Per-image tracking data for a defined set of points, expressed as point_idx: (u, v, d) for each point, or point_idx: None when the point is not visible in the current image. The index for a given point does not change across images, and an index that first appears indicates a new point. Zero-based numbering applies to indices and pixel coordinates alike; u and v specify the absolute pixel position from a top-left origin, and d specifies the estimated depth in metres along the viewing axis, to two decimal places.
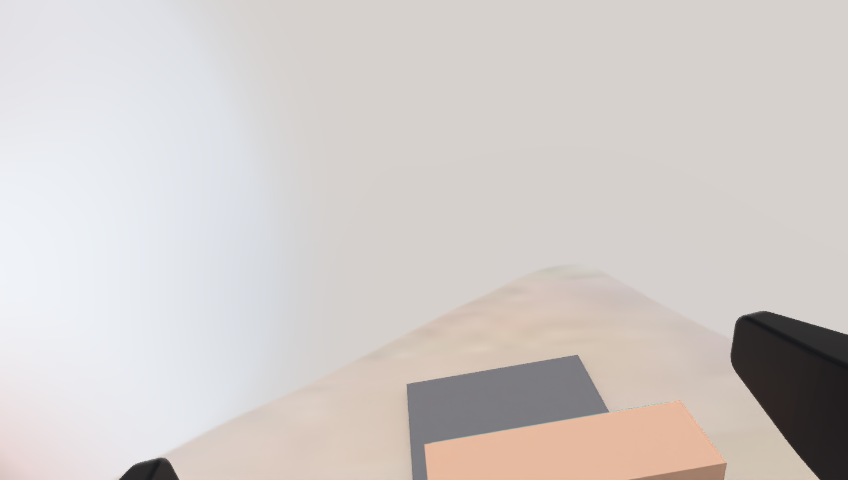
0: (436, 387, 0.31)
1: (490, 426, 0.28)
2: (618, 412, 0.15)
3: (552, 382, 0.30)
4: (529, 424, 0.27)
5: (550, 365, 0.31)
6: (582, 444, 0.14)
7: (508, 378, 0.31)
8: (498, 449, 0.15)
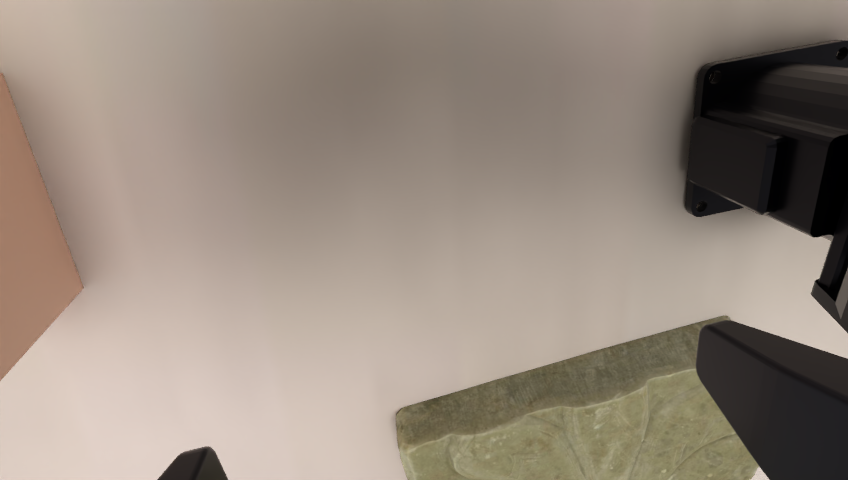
0: None
1: None
2: None
3: None
4: None
5: None
6: None
7: None
8: None
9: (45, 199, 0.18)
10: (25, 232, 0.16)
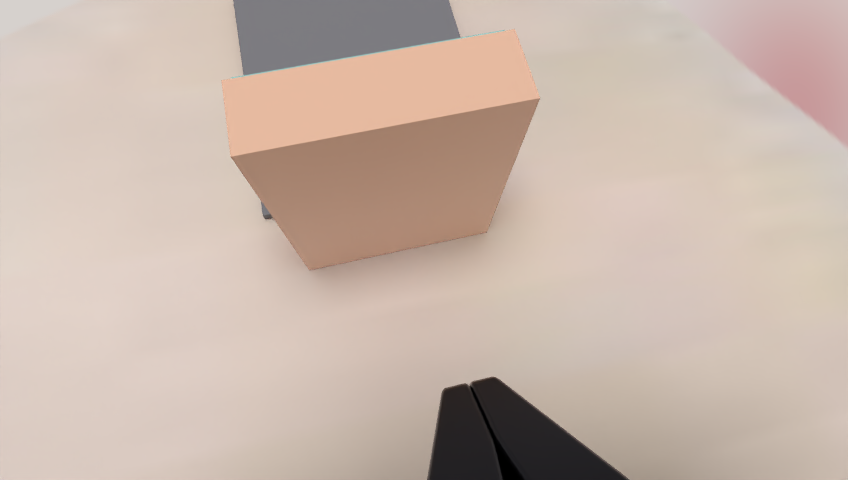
0: None
1: (331, 45, 0.25)
2: (446, 42, 0.14)
3: None
4: (373, 43, 0.25)
5: None
6: (401, 79, 0.13)
7: None
8: (308, 85, 0.13)
9: (394, 250, 0.22)
10: (379, 240, 0.20)
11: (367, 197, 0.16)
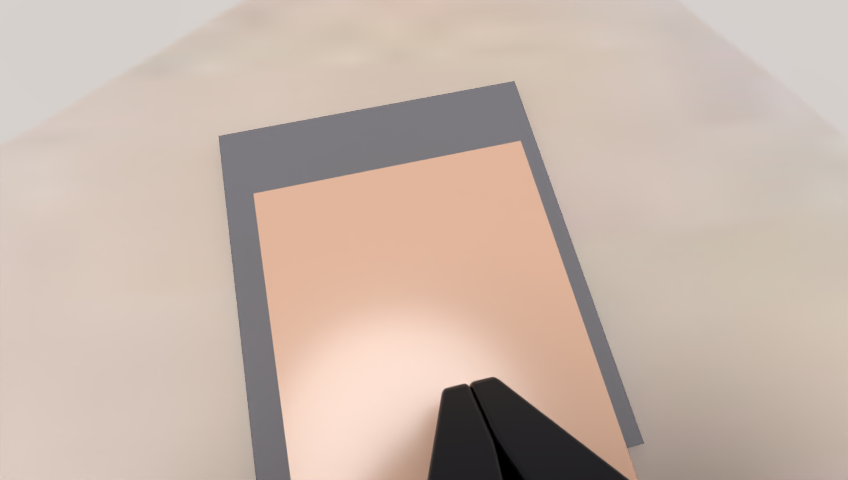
0: (273, 144, 0.18)
1: None
2: None
3: (470, 137, 0.18)
4: None
5: (469, 102, 0.18)
6: None
7: (398, 127, 0.18)
8: None
9: None
10: (427, 466, 0.12)
11: (386, 299, 0.13)
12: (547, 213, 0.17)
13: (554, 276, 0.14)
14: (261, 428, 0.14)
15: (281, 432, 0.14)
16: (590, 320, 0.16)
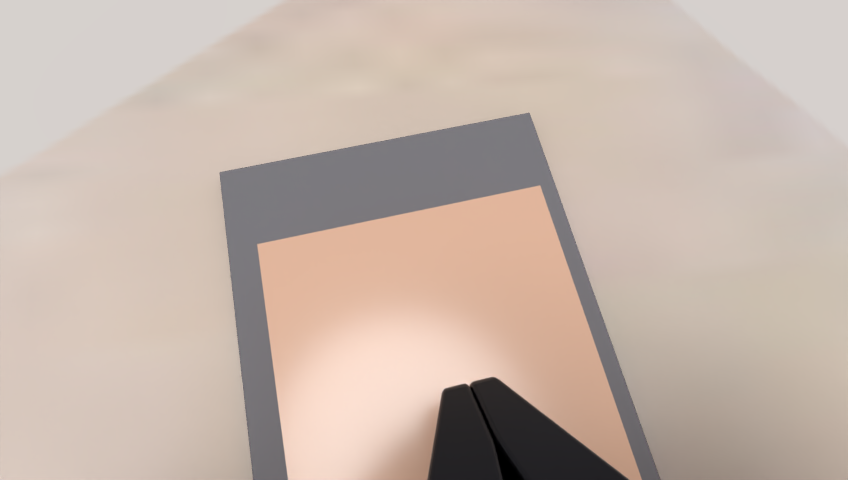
0: (276, 181, 0.17)
1: None
2: None
3: (484, 173, 0.17)
4: None
5: (482, 135, 0.18)
6: None
7: (408, 162, 0.17)
8: None
9: None
10: None
11: (399, 361, 0.12)
12: (565, 256, 0.16)
13: (578, 335, 0.13)
14: None
15: None
16: (612, 372, 0.15)
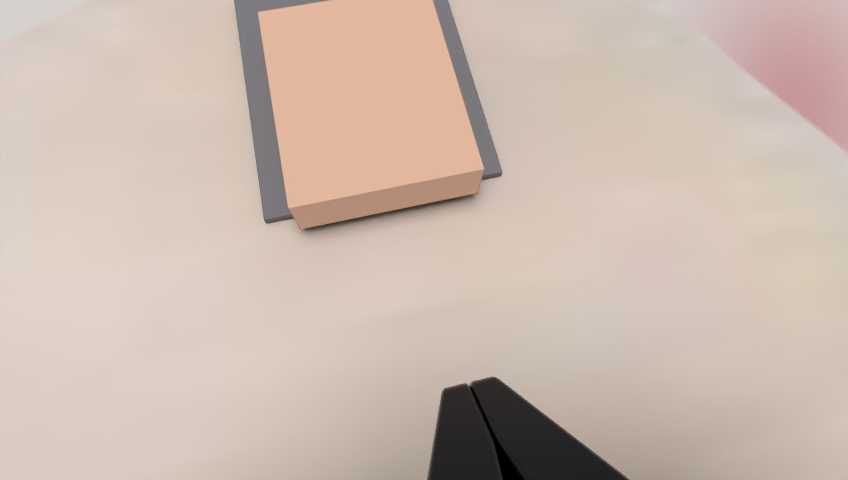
0: (270, 1, 0.26)
1: None
2: None
3: None
4: None
5: None
6: None
7: None
8: None
9: (381, 183, 0.20)
10: (359, 150, 0.21)
11: (338, 68, 0.22)
12: (452, 44, 0.26)
13: (442, 58, 0.22)
14: (262, 161, 0.23)
15: (275, 163, 0.23)
16: (475, 105, 0.24)
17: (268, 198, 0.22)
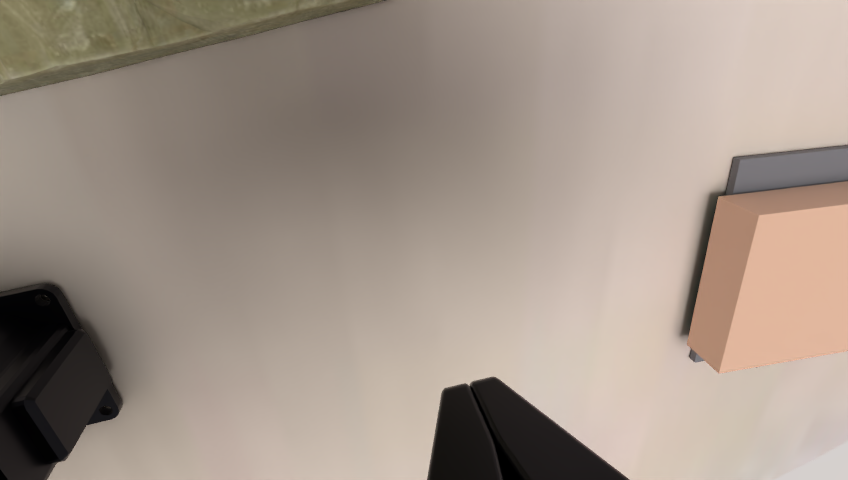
0: None
1: None
2: None
3: None
4: None
5: None
6: None
7: None
8: None
9: (744, 295, 0.22)
10: (781, 278, 0.22)
11: None
12: None
13: (827, 349, 0.24)
14: (797, 159, 0.22)
15: (789, 172, 0.22)
16: None
17: (758, 164, 0.22)
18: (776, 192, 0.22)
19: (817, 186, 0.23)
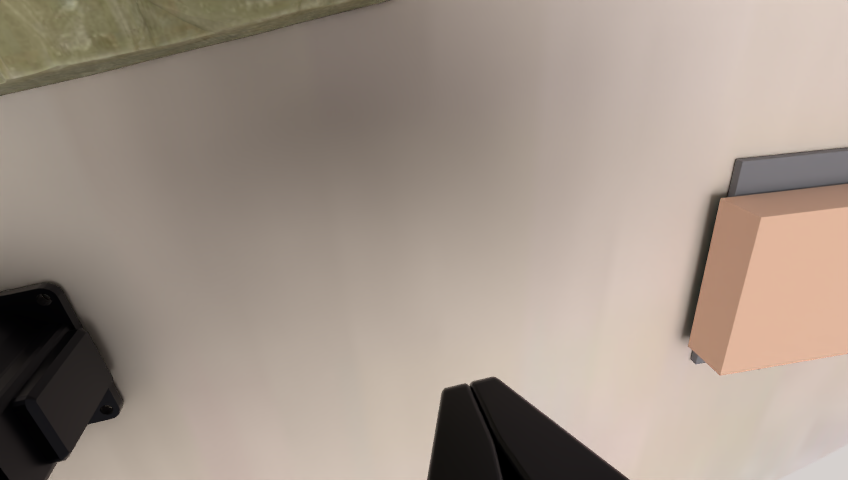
0: None
1: None
2: None
3: None
4: None
5: None
6: None
7: None
8: None
9: (746, 297, 0.22)
10: (783, 281, 0.22)
11: None
12: None
13: (828, 351, 0.24)
14: (799, 161, 0.22)
15: (791, 174, 0.22)
16: None
17: (761, 166, 0.22)
18: (778, 194, 0.22)
19: (820, 188, 0.23)
